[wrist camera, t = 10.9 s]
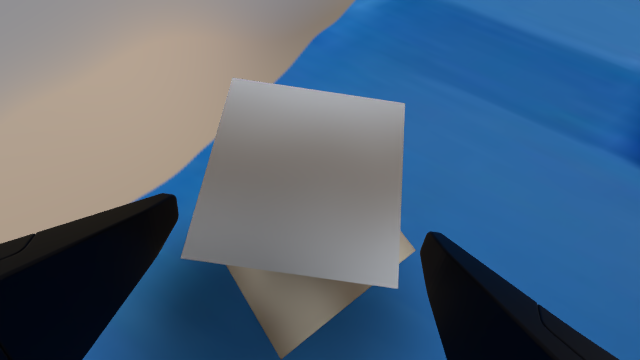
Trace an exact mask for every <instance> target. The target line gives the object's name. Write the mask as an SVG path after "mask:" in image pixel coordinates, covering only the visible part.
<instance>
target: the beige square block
mask: <svg viewBox="0 0 640 360" xmlns="http://www.w3.org/2000/svg"><path fill="white" fill-rule="evenodd" d="M414 251H415V249H414V248H413V246H412V245H411V244H410V243H409V241H408V240H407V239H406V237H405V236H404V235H403V234H402V232H401V231H400V248H399V263H401V262H402V261H403V260H404V259H405V258H407V257H408V256H409V255H410V254H412V253H413V252H414ZM226 266H227V268H228V269H229V271H230V273H231V274H232V276H233V278H234V280H235V281H236V283H237V285H238V287H239V288H240V290H241V292H242V293H243V295H244V297H245V299H246V300H247V302H248V304H249V305H250V307H251V309H252V311H253V312H254V314H255V316H256V318H257V319H258V321H259V323H260V324H261V326H262V328H263V330H264V331H265V333H266V335H267V336H268V338H269V340H270V342H271V343H272V345H273V347H274V348H275V350H276V352H277V354H278V355H279V357H280V359H282V358H283V357H285V356H286V355H287V354H288V353H290V352H291V351H292V350H293V349H295V348H296V347H297V346H298V345H299V344H301V343H302V342H303V341H304V340H306V339H307V338H308V337H309V336H311V335H312V334H313V333H314V332H315V331H317V330H318V329H319V328H320V327H322V326H323V325H324V324H325V323H327V322H328V321H329V320H330V319H331V318H333V317H334V316H335V315H336V314H338V313H339V312H340V311H341V310H343V309H344V308H345V307H346V306H348V305H349V304H350V303H351V302H352V301H354V300H355V299H356V298H357V297H359V296H360V295H361V294H362V293H364V292H365V291H366V290H367V289H368V288H370V287H371V286H372V285H367V284H360V283H353V282H346V281H339V280H331V279H324V278H317V277H310V276H303V275H296V274H289V273H282V272H274V271H267V270H260V269H253V268H246V267H239V266H232V265H226Z"/></svg>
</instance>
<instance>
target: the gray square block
mask: <svg viewBox="0 0 640 360" xmlns="http://www.w3.org/2000/svg"><path fill="white" fill-rule="evenodd" d="M404 113H405V103H399V102H392V101H386V100H379V99H372V98H365V97H359V96H352V95H345V94H339V93H332V92H325V91H318V90H312V89H305V88H298V87H292V86H285V85H278V84H271V83H264V82H258V81H251V80H244V79H238V78H232V82H231V86H230V89H229V92H228V96H227V99H226V103H225V106H224V110H223V113H222V117H221V120H220V123H219V127H218V130H217V134H216V137H215V141H214V144H213V148H212V151H211V155H210V158H209V162H208V165H207V169H206V172H205V175H204V179H203V182H202V186H201V189H200V193H199V196H198V200H197V203H196V207H195V210H194V214H193V217H192V221H191V224H190V227H189V231H188V234H187V238H186V241H185V245H184V248H183V252H182V255H181V258H182V259H189V260H196V261H203V262H210V263H217V264H225V265H232V266H239V267H246V268H253V269H260V270H267V271H274V272H282V273H289V274H296V275H303V276H310V277H317V278H324V279H331V280H339V281H346V282H353V283H360V284H367V285H374V286H381V287H388V288H396V289H398V274H399V248H400V221H401V194H402V167H403V140H404Z"/></svg>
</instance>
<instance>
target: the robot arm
mask: <svg viewBox="0 0 640 360" xmlns="http://www.w3.org/2000/svg"><path fill="white" fill-rule="evenodd" d="M177 220H178V206H177V199H176V196H175V195H172V194H165V193H162V194H158V195H155V196H152V197H149V198H145V199H142V200H139V201H136V202H133V203H129V204H126V205H123V206H120V207H117V208H114V209H110V210H107V211H104V212H101V213H98V214H95V215H92V216H88V217H85V218H82V219H79V220H75V221H72V222H69V223H66V224H63V225H60V226H56V227H53V228H50V229H47V230H44V231H40V232H37V233H36V234H30V235H27V236H24V237H21V238H18V239H14V240H12V241H8V242H5V243H2V244H0V360H82V359H83V358H84V357H85V355H86V354H87V352H88V351H89V350H90V348H91V347H92V346H93V344H94V343H95V341H96V340H97V339H98V337H99V336H100V335H101V333H102V332H103V330H104V329H105V328H106V326H107V325H108V323H109V322H110V321H111V319H112V318H113V317H114V315H115V314H116V312H117V311H118V310H119V308H120V307H121V306H122V304H123V303H124V301H125V300H126V299H127V297H128V296H129V294H130V293H131V292H132V290H133V289H134V288H135V286H136V285H137V283H138V282H139V281H140V279H141V278H142V276H143V275H144V274H145V272H146V271H147V270H148V268H149V267H150V265H151V264H152V263H153V261H154V260H155V258H156V257H157V255H158V254H159V252H160V250H161V249H162V247H163V245H164V243H165V241H166V240H167V238H168V236H169V234H170V233H171V231H172V229H173V227H174V226H175V224H176V222H177ZM420 257H421V262H422V268H423V273H424V279H425V284H426V289H427V294H428V298H429V302H430V305H431V308H432V311H433V315H434V318H435V321H436V325H437V328H438V331H439V335H440V338H441V341H442V345H443V348H444V351H445V355H446V358H447V360H619V359H618V358H616V357H614V356H613V355H611V354H610V353H608V352H607V351H605V350H604V349H602V348H601V347H599V346H598V345H596V344H595V343H593V342H592V341H591V340H589V339H588V338H586V337H585V336H583V335H582V334H580V333H579V332H577V331H576V330H574V329H573V328H571V327H570V326H569V325H567V324H566V323H564V322H563V321H562V320H560V319H559V318H557V317H556V316H554V315H553V314H552V313H550V312H549V311H548V310H546V309H545V308H543V307H542V306H541V305H537V303H536V302H535V301H534V300H532V299H531V298H530V297H528V296H527V295H525V294H524V293H523V292H521V291H520V290H519V289H517V288H516V287H514V286H513V285H512V284H510V283H509V282H508V281H506V280H505V279H503V278H502V277H501V276H499V275H498V274H497V273H495V272H494V271H492V270H491V269H490V268H488V267H487V266H486V265H484V264H483V263H481V262H480V261H479V260H477V259H476V258H475V257H473V256H472V255H470V254H469V253H468V252H466V251H465V250H464V249H462V248H461V247H459V246H458V245H457V244H455V243H454V242H453V241H451V240H450V239H448V238H447V237H446V236H444V235H443V234H441V233H438V232H428V233H427V235H426V237H425V240H424V242H423V245H422V247H421V251H420Z"/></svg>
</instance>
